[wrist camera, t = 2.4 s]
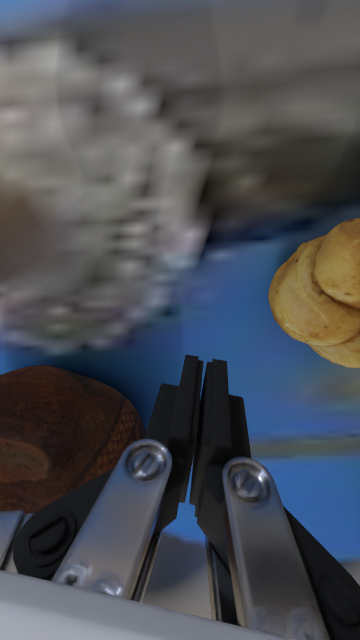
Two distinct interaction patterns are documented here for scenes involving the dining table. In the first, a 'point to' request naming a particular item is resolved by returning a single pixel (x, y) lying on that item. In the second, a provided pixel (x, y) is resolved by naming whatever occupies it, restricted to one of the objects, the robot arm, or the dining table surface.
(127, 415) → the jug
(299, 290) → the bread roll
